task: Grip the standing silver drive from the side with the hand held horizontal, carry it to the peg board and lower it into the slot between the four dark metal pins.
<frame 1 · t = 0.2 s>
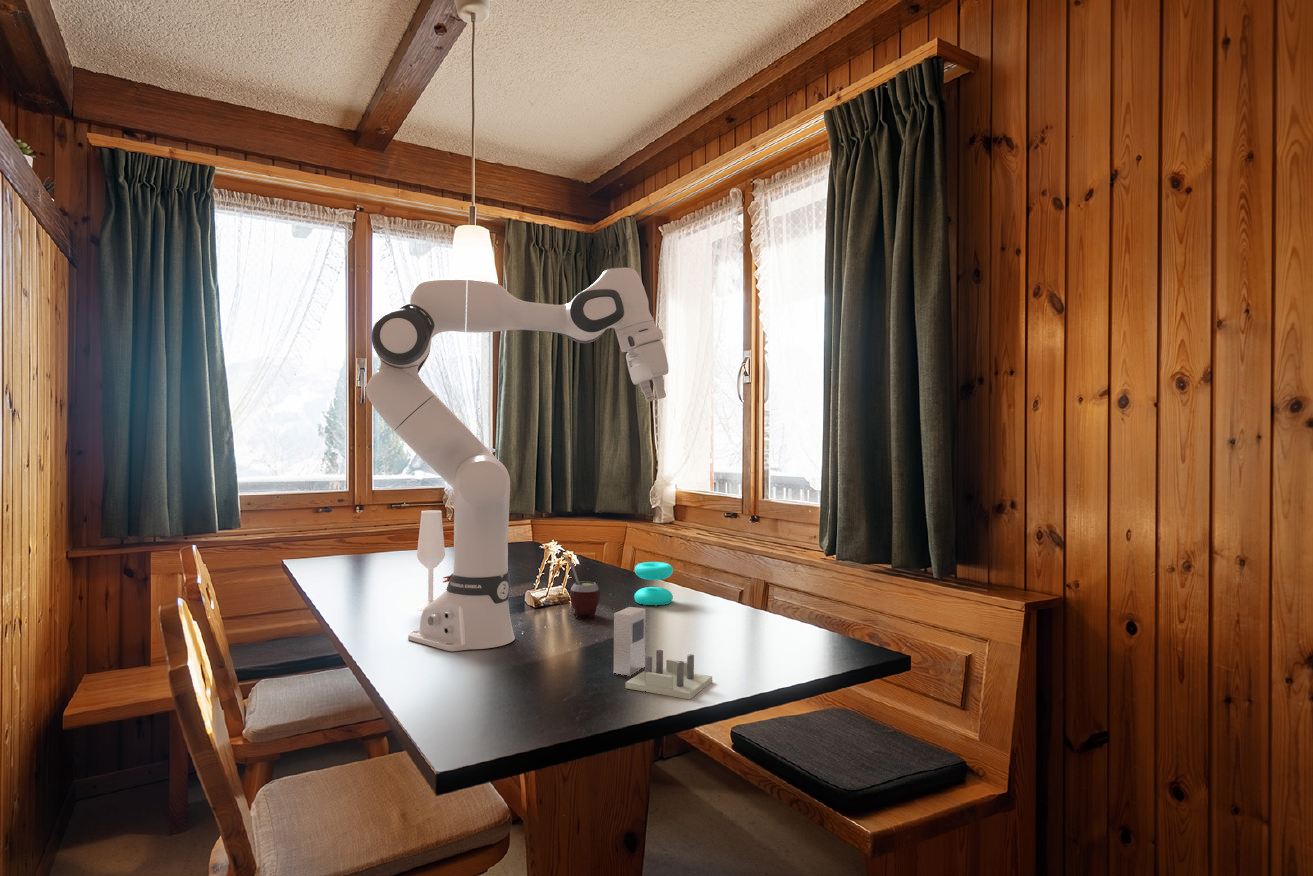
hand: (656, 399, 167), 51 cm above the table, tool tilted 15°, fingers open, 8 cm apart
mate gourd: (582, 617, 180), on the table
drive: (629, 670, 140), on the table
donuts: (653, 603, 197), on the table
champagne flute: (430, 608, 188), on the table
peg board: (669, 685, 132), on the table
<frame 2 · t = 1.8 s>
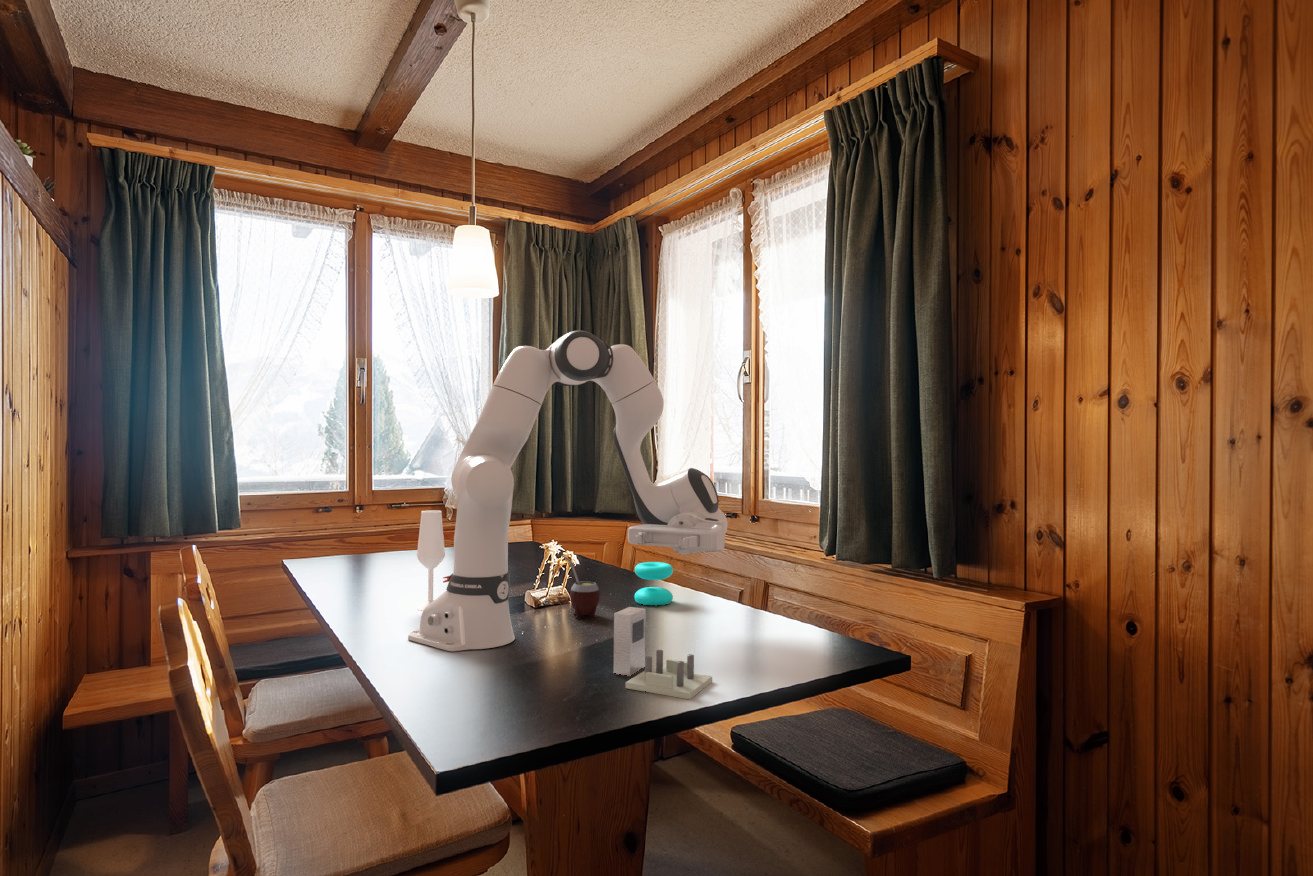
hand: (659, 541, 151), 22 cm above the table, tool horizontal, fingers open, 8 cm apart
nothing on the table moved.
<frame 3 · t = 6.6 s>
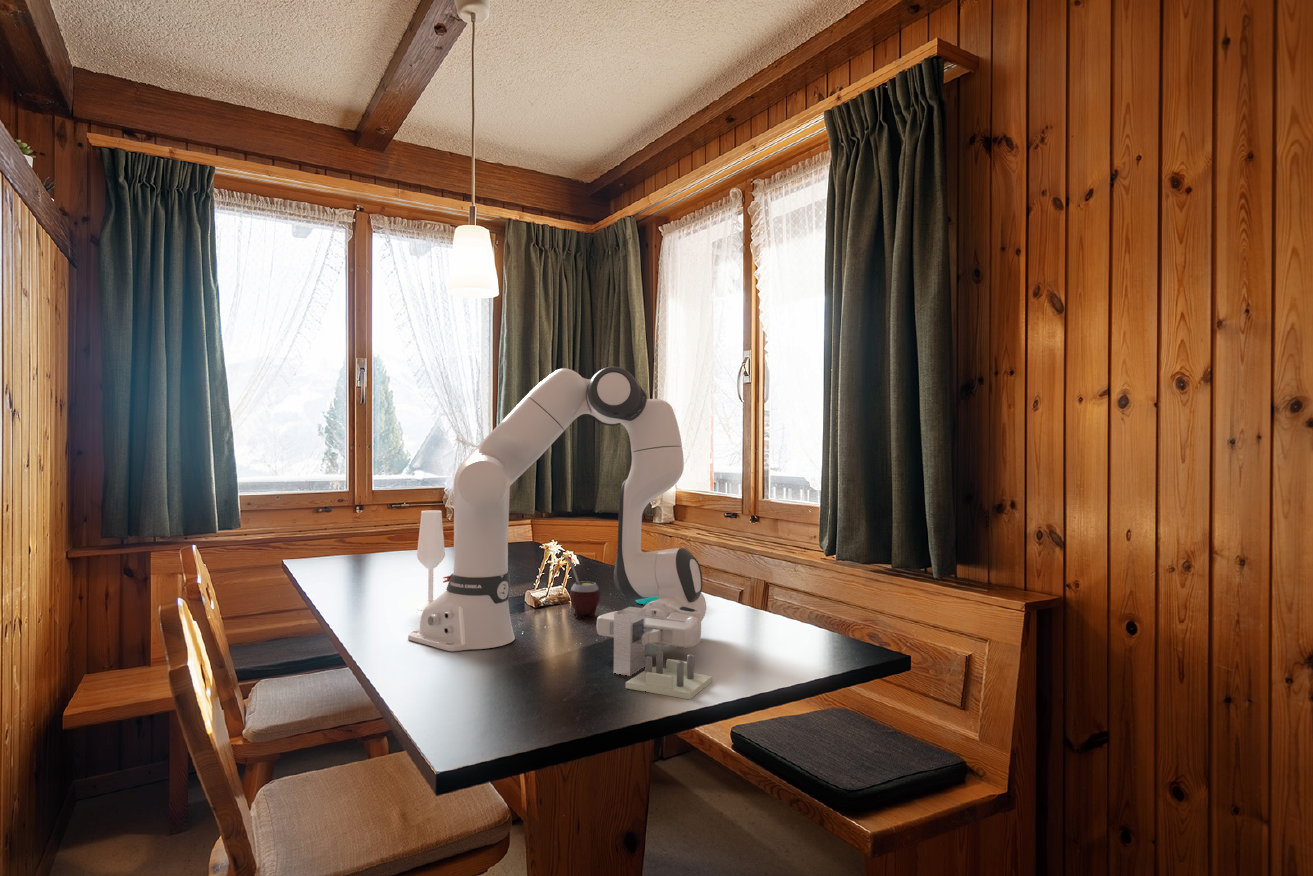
hand: (628, 638, 139), 6 cm above the table, tool horizontal, fingers closed on drive, 3 cm apart
drive: (629, 670, 140), on the table, touching gripper
everything else where it was.
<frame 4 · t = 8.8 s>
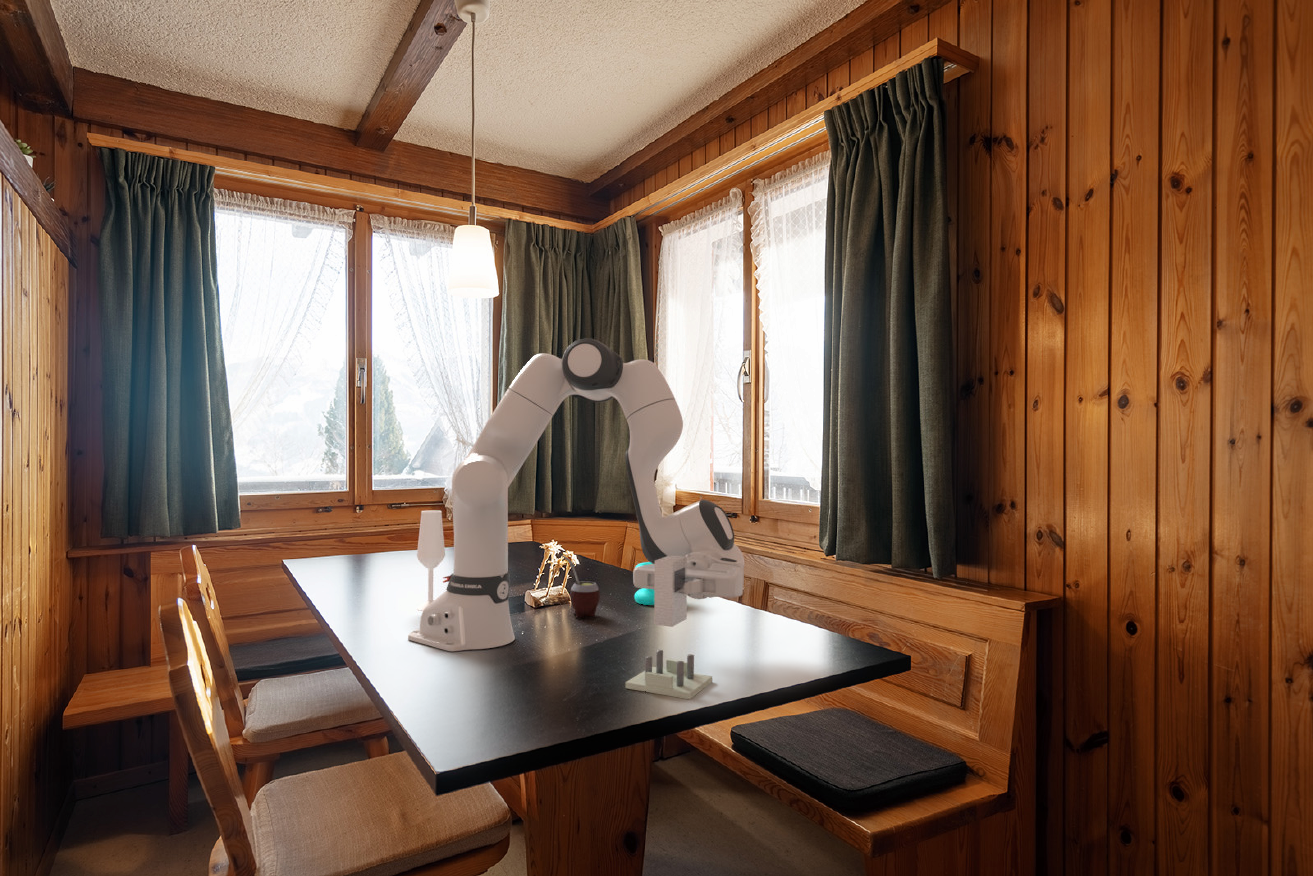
hand: (669, 587, 131), 17 cm above the table, tool horizontal, fingers closed on drive, 3 cm apart
drive: (670, 621, 132), point 11 cm above the table, touching gripper
everything else where it was.
when the fingers open (8 cm above the table, at t = 11.1 s): drive drops 1 cm, resting on peg board.
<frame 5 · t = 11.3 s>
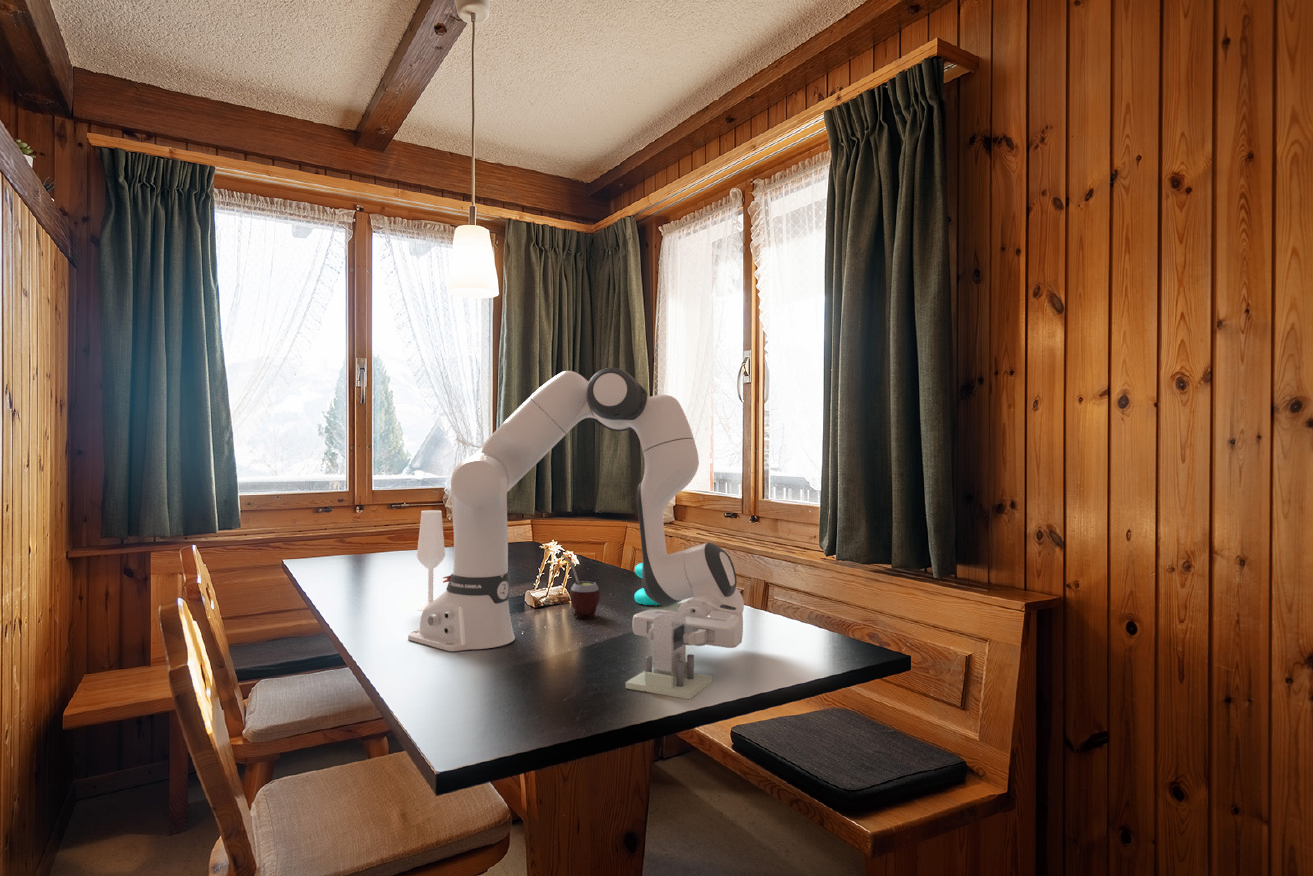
hand: (669, 638, 131), 8 cm above the table, tool horizontal, fingers open, 5 cm apart
drive: (669, 678, 132), point 1 cm above the table, touching peg board
everything else where it was.
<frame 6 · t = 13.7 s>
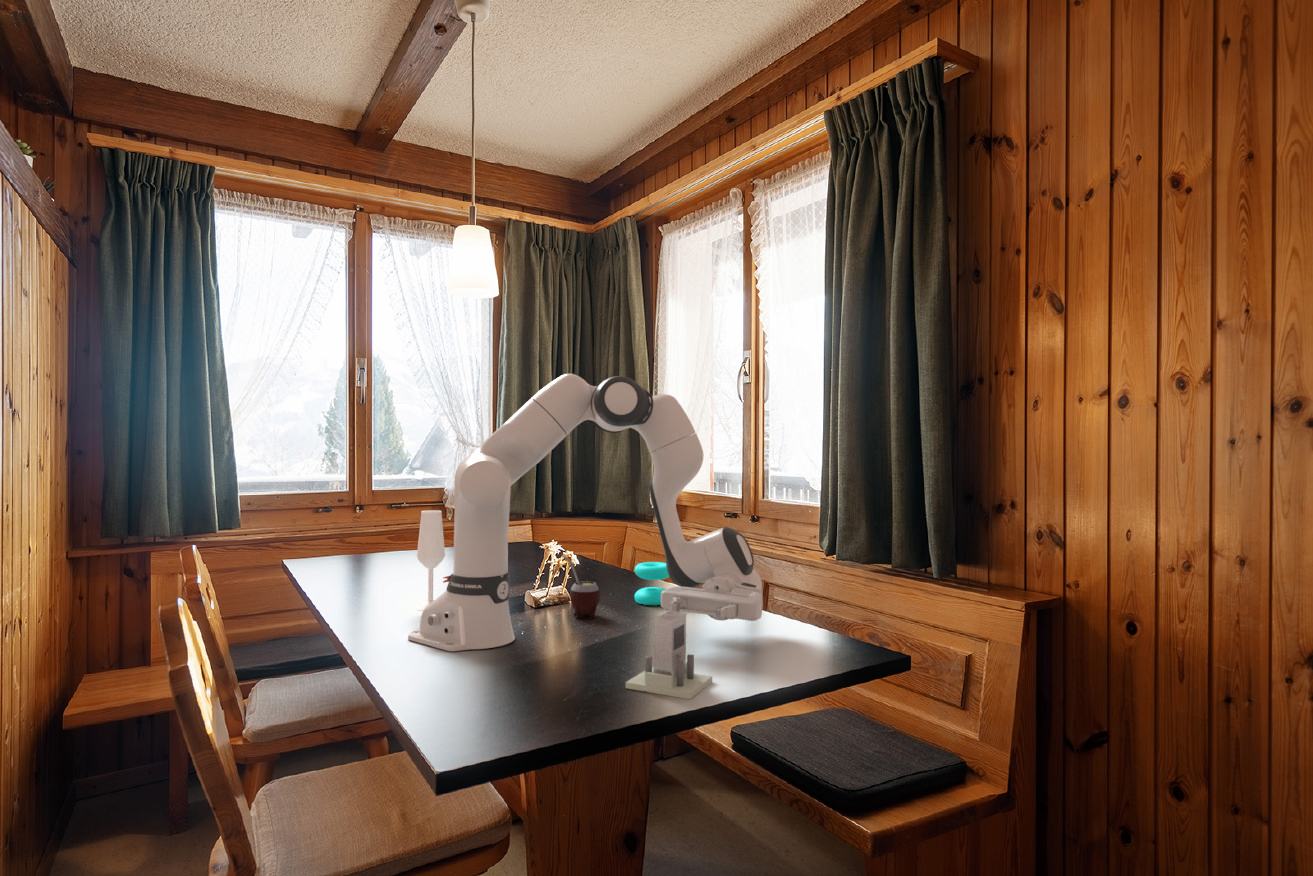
hand: (695, 610, 143), 10 cm above the table, tool horizontal, fingers open, 8 cm apart
nothing on the table moved.
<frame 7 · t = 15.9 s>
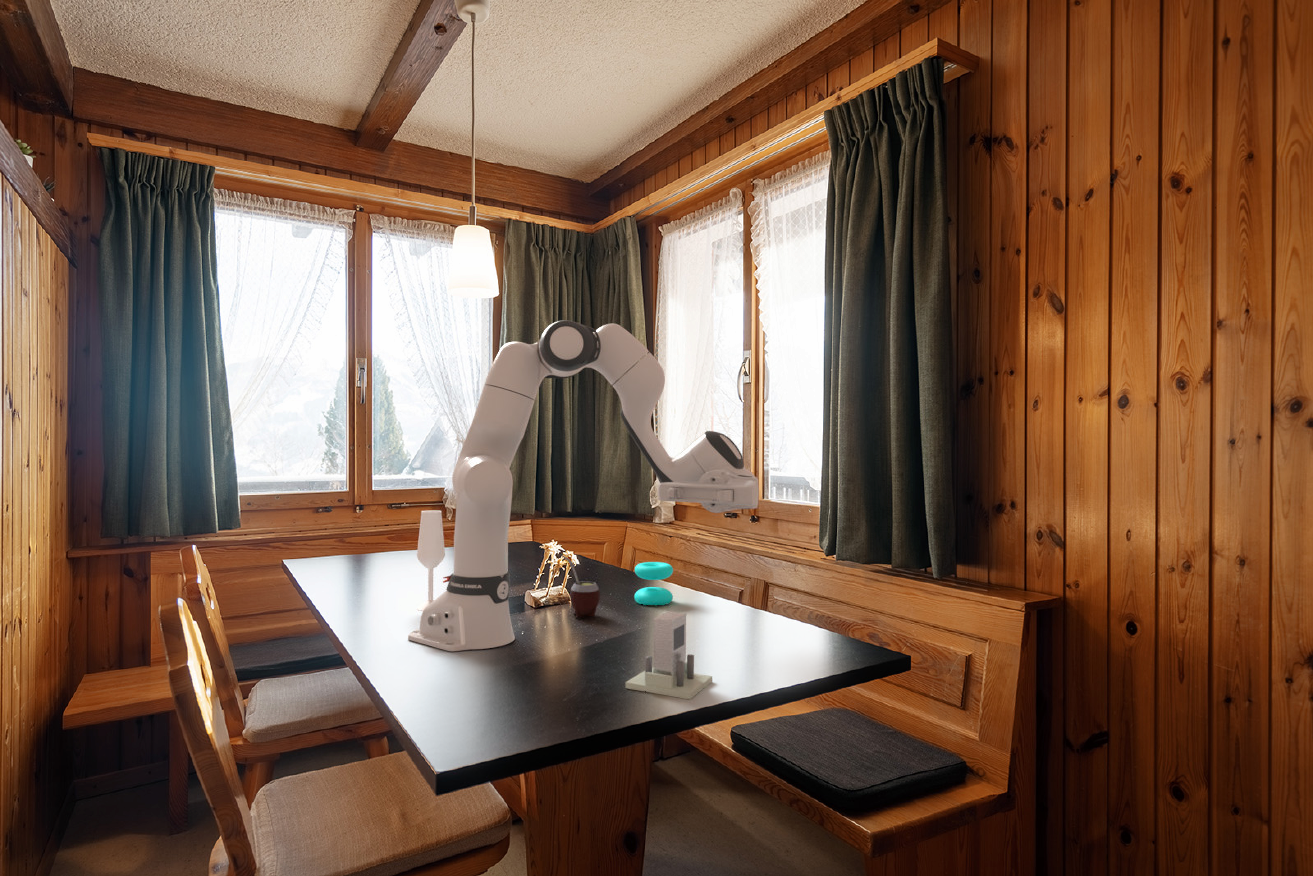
hand: (692, 495, 145), 32 cm above the table, tool horizontal, fingers open, 8 cm apart
nothing on the table moved.
at the end: drive 0.1 cm off-centre on the peg board, point 1.0 cm above the peg board's base; drive tilted 0°; the gripper is holding nothing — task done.
